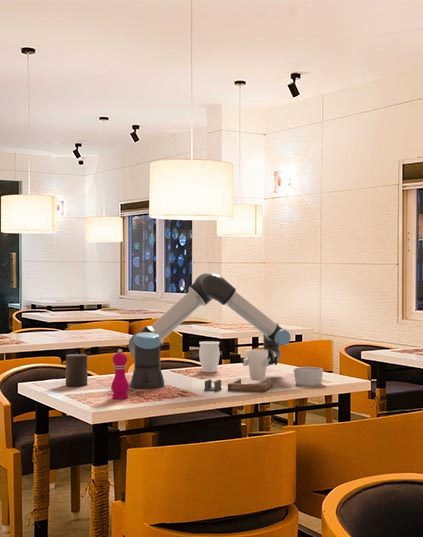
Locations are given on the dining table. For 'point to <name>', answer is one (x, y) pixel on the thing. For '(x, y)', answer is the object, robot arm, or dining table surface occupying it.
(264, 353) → the foam cup
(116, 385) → the pepper mill
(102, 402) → the dining table surface
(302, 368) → the ramekin
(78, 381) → the pillar candle
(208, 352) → the jar
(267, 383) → the end holder
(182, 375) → the dining table surface
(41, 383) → the dining table surface
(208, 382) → the clip
